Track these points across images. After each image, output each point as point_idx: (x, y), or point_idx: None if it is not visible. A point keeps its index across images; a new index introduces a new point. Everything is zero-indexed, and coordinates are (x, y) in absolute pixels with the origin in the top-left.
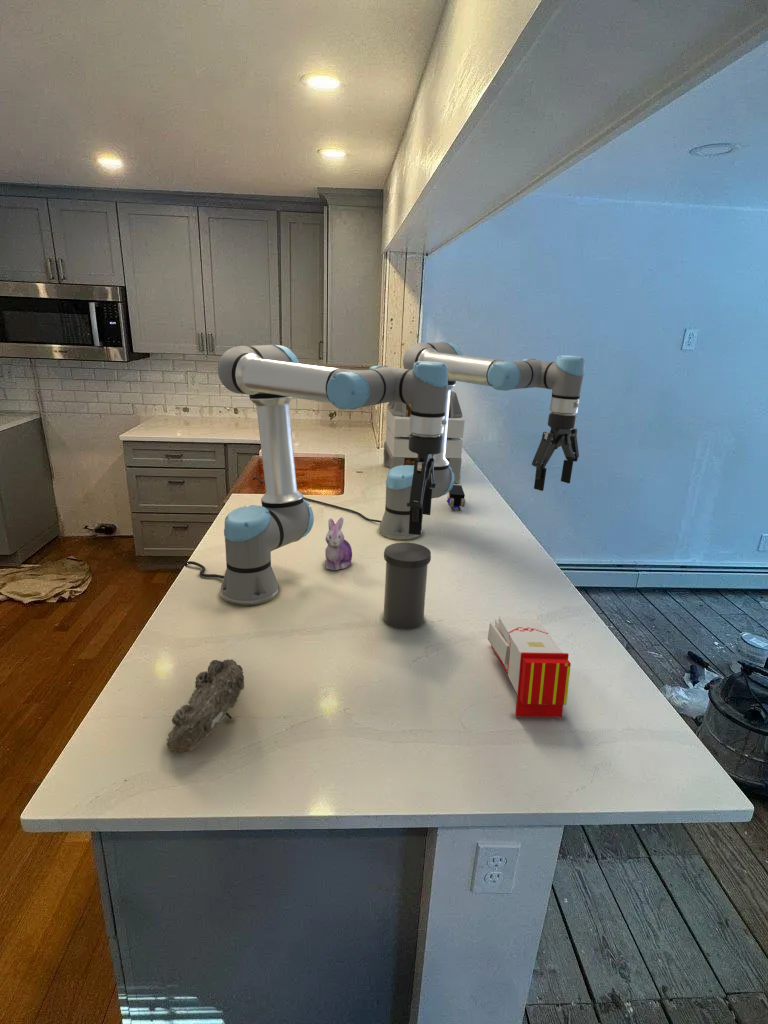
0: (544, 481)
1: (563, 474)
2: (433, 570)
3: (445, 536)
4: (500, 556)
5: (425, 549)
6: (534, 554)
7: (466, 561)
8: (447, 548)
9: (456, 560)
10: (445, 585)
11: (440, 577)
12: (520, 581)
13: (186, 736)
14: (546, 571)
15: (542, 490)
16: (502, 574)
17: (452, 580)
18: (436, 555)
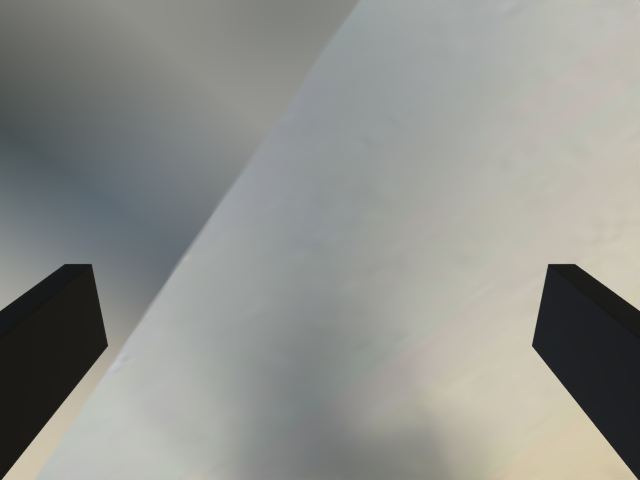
0: (611, 313)
1: (62, 377)
2: None
3: (342, 465)
4: (322, 299)
5: None
6: (212, 247)
7: (438, 332)
8: (406, 413)
9: (455, 351)
10: (624, 266)
11: None
12: (430, 149)
13: None
14: (291, 142)
15: (567, 265)
16: (431, 215)
17: None
18: (471, 400)
